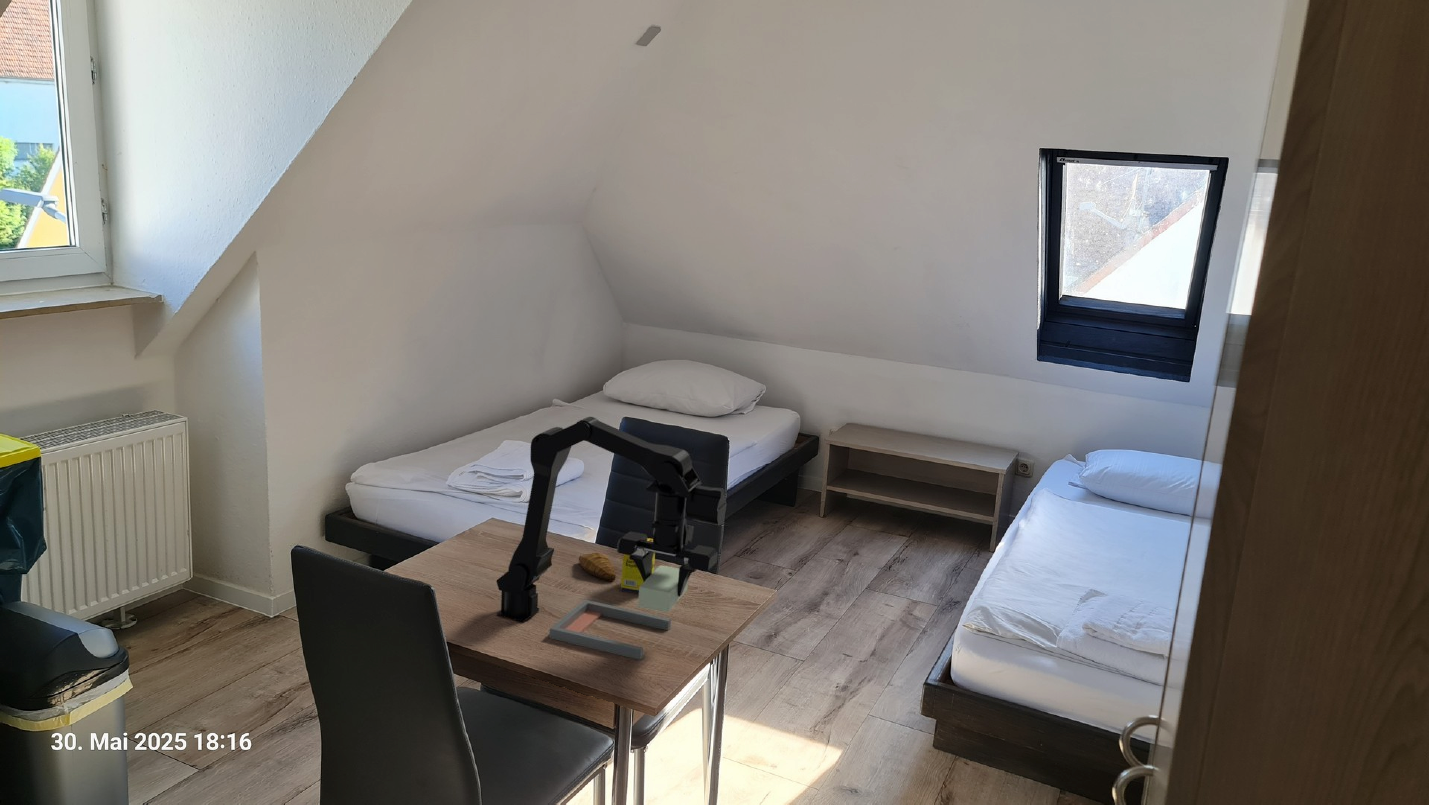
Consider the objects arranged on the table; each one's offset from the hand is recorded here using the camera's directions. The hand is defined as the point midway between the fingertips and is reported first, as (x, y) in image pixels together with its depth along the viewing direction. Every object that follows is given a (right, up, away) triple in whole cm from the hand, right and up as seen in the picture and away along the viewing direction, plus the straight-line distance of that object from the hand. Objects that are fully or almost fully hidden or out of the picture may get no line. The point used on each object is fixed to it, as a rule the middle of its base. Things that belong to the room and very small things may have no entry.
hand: (664, 592), depth 191 cm
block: (0, -1, 0) cm, 1 cm away
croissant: (-17, -3, +35) cm, 39 cm away
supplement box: (-7, -5, +28) cm, 30 cm away
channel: (-10, -9, +5) cm, 15 cm away
